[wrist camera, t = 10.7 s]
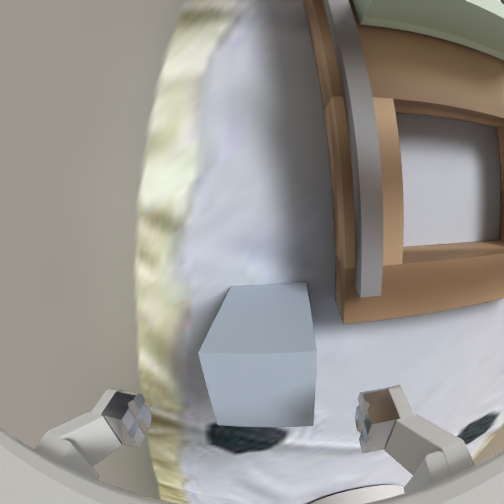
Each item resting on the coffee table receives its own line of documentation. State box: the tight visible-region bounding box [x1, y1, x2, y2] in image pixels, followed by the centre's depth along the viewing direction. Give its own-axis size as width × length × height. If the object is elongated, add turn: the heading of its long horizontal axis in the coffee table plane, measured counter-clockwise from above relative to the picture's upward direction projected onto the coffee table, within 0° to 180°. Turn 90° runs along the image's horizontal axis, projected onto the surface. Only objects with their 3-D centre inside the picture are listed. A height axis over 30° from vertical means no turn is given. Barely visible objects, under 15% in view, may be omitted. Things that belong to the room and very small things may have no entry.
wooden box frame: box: [303, 0, 504, 324], centre depth 10 cm, size 22×16×4 cm
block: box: [198, 282, 317, 427], centre depth 14 cm, size 4×4×7 cm
